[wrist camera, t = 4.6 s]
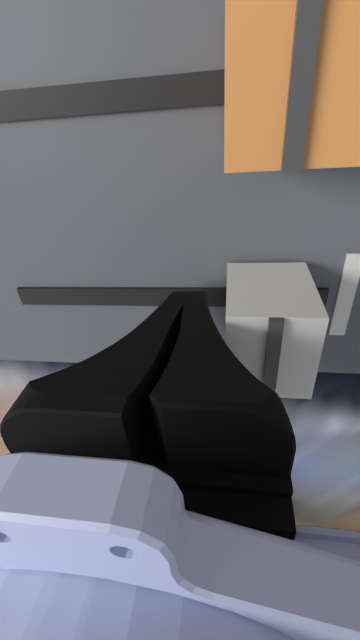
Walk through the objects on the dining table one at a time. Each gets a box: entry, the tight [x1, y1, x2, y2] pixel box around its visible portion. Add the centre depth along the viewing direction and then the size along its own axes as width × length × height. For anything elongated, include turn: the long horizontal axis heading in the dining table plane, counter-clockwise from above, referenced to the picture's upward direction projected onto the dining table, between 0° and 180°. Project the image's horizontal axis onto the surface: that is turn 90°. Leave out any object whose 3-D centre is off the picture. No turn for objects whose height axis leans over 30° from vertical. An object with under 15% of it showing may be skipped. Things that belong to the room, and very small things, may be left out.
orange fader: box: [224, 0, 360, 173], centre depth 7 cm, size 3×3×4 cm
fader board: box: [0, 0, 360, 374], centre depth 13 cm, size 15×23×2 cm, turn 94°
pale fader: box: [225, 262, 329, 399], centre depth 11 cm, size 3×3×4 cm
